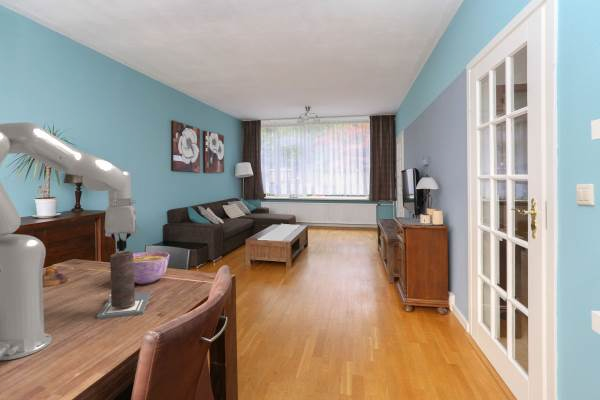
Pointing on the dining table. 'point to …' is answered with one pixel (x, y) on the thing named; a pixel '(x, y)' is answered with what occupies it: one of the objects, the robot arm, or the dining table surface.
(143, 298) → the grey piece
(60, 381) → the dining table surface
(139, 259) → the bowl of food
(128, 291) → the brown cylinder
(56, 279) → the orange purple rounded piece
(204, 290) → the dining table surface
